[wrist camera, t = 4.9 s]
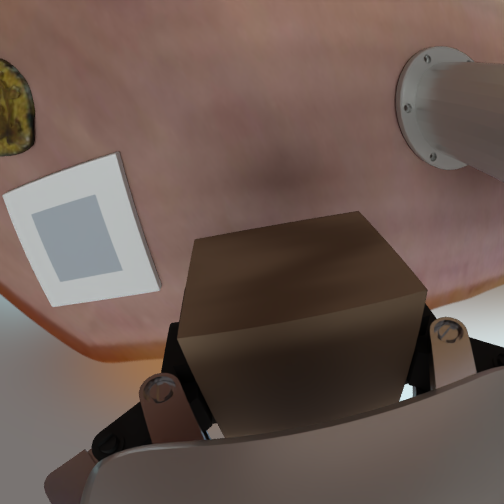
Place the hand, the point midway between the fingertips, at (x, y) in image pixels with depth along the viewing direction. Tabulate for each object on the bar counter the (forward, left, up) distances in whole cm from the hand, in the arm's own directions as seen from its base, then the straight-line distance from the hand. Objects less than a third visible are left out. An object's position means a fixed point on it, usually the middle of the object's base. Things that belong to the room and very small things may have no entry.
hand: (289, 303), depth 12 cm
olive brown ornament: (+24, -14, -18) cm, 33 cm away
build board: (+18, +2, -17) cm, 25 cm away
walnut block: (0, 0, -1) cm, 1 cm away
